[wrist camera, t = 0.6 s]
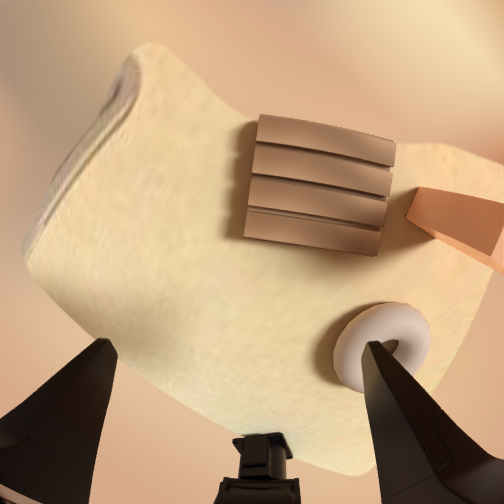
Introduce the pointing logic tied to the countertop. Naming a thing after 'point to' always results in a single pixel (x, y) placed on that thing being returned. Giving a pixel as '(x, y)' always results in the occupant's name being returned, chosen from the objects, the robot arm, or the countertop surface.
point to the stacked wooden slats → (318, 186)
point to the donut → (382, 340)
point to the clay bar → (462, 223)
